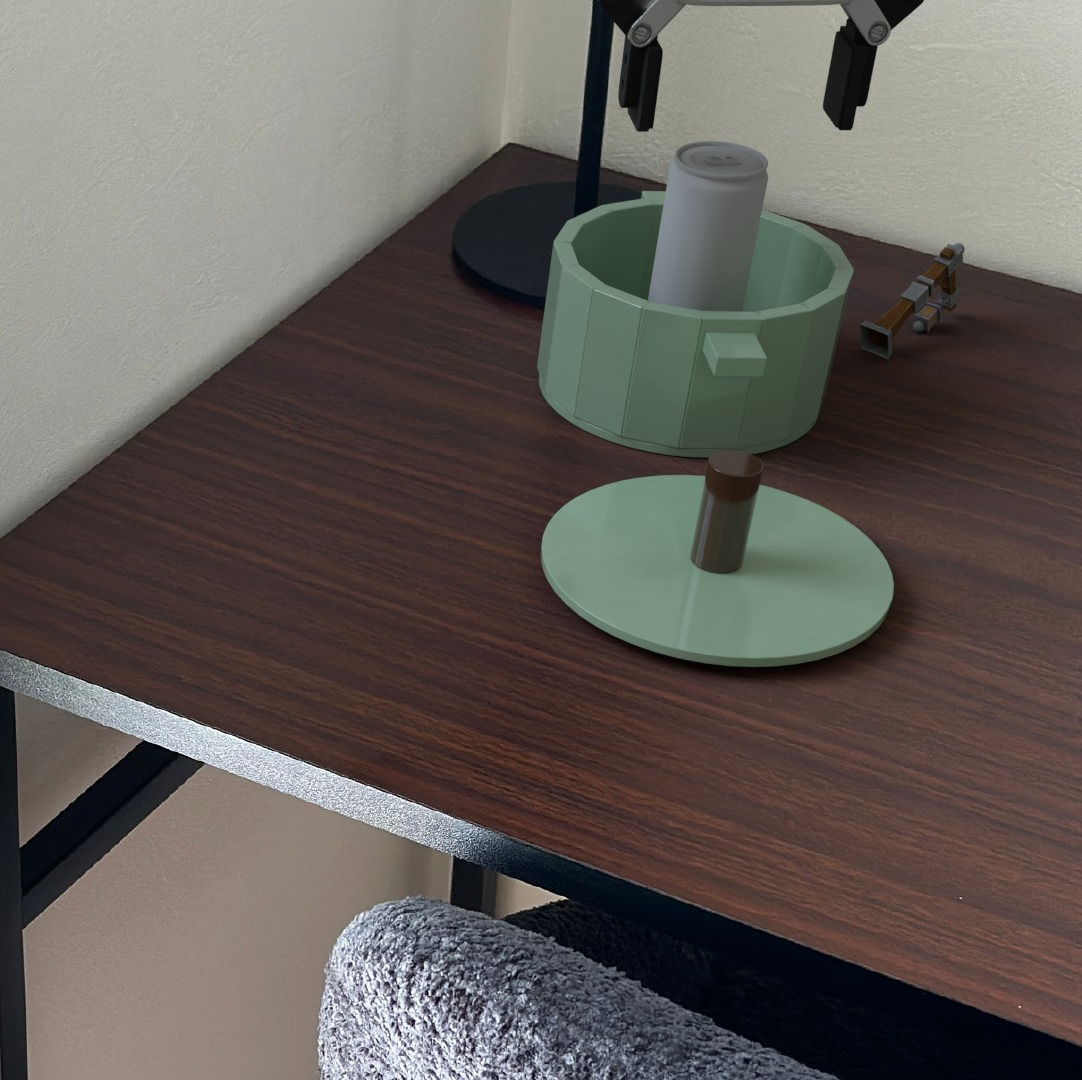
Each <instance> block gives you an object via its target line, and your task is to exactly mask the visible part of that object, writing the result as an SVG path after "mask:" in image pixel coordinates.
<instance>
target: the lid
mask: <svg viewBox="0 0 1082 1080" xmlns="http://www.w3.org/2000/svg"><path fill="white" fill-rule="evenodd" d="M763 472H764V463H763V461H762V460H761V459H760V458H759V457H757V456H755V454H749V453H746V452H742V451H736V450H724V451H719V452H716V453H714V454H712V455H711V456H710V458H708V461H707V466H706V471H705V475H694V474H663V475H650V476H640V477H634V478H629V479H623V480H618V481H615V482H611V483H608V484H604V485H601V486H598V487H595V488H593V489H590V490H588V491H586V492H584V493H582V494H579V495H578V496H575V497H574V498H573V499H571V500H570V501H568V502H567V503H565V504H564V505H562V506H561V508H560V509H558V510H557V511H556V513H554V514H553V516H552V517H551V519H550V520H549V522H548V523H547V524H546V527H545V530H544V532H543V535H542V538H541V545H540V554H539V555H540V562H541V567H542V570H543V573H544V575H545V579H546V581H547V582H548V583H549V585H550V587H551V588H552V590H553V591H554V593H555V594H556V595H557V596H558V598H560V600H561V601H562V602H563V603H564V605H566V606H567V607H569V609H570V610H572V611H573V612H574V613H575V614H577V615H578V616H579V617H580V618H582V619H584V620H585V621H587V622H588V623H589V624H591V625H593V626H594V627H596V628H598V629H599V630H602V631H603V632H605V633H607V634H609V635H611V636H613V637H615V638H617V639H619V640H622V641H624V642H626V643H629V644H631V645H633V646H636V647H639V648H641V649H645V650H648V651H651V652H654V653H657V654H660V655H665V656H668V657H672V658H675V659H680V660H684V661H690V662H696V663H701V664H708V665H717V666H725V667H743V668H764V667H765V668H766V667H768V668H769V667H782V666H783V667H784V666H791V665H792V666H793V665H799V664H804V663H809V662H814V661H820V660H822V659H824V658H825V659H826V658H829V657H833V656H835V655H839V654H840V653H843V652H845V651H848V650H850V649H852V648H854V647H855V646H857V645H858V644H860V643H862V642H864V641H865V640H866V639H868V638H869V637H870V636H872V635H873V634H874V633H875V631H877V630H878V629H880V626H881V625H882V624H883V622H884V621H885V620H886V618H887V617H888V614H889V612H890V609H891V606H892V603H893V599H894V593H895V592H894V591H895V583H894V575H893V573H892V570H891V567H890V565H889V562H888V560H887V559H886V558H885V555H884V554H883V552H882V551H881V549H880V548H879V547H878V546H877V545H876V544H875V542H874V541H872V539H870V538H869V536H868V535H866V534H865V533H864V532H863V531H862V530H860V529H859V528H858V527H857V526H855V525H854V524H852V523H851V522H850V521H848V520H846V518H844V517H843V516H841V515H839V514H837V513H835V512H834V511H832V510H830V509H828V508H826V507H824V506H822V505H820V504H818V503H816V502H813V501H811V500H809V499H807V498H803V497H802V496H798V495H795V494H793V493H790V492H788V491H785V490H782V489H777V488H774V487H771V486H768V485H763V484H761V482H762V477H763Z"/></svg>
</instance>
